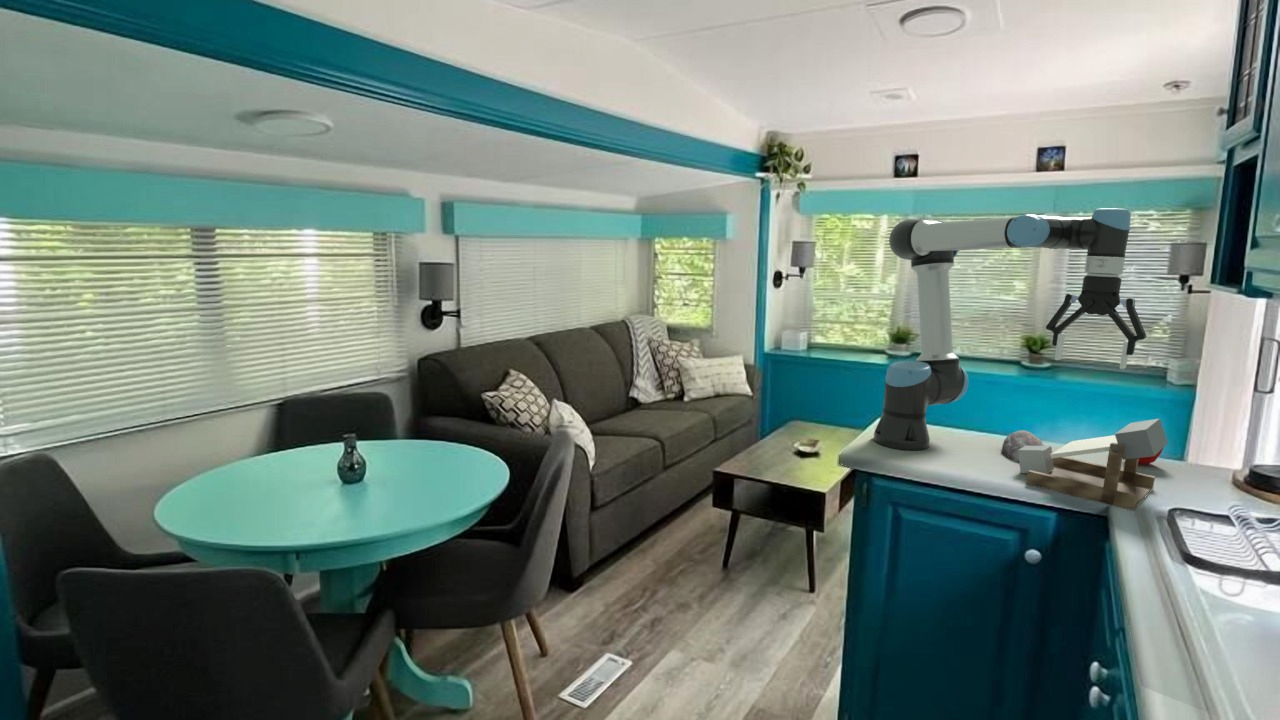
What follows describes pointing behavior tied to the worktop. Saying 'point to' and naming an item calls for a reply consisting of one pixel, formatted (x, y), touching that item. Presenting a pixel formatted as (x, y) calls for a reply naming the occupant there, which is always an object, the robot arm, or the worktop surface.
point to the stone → (1019, 443)
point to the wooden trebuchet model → (1097, 479)
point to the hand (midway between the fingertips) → (1089, 364)
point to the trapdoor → (1122, 441)
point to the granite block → (1036, 459)
